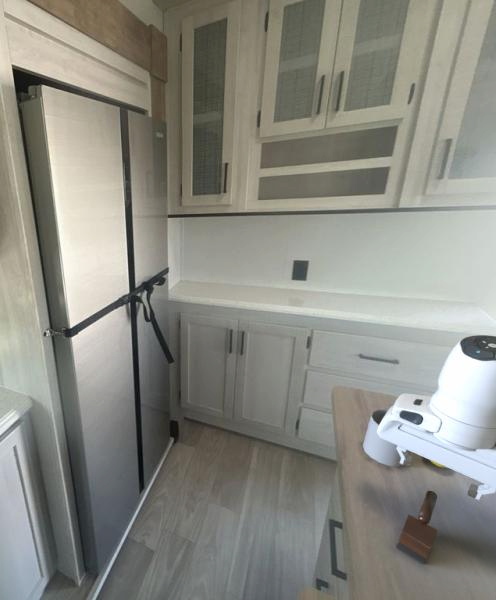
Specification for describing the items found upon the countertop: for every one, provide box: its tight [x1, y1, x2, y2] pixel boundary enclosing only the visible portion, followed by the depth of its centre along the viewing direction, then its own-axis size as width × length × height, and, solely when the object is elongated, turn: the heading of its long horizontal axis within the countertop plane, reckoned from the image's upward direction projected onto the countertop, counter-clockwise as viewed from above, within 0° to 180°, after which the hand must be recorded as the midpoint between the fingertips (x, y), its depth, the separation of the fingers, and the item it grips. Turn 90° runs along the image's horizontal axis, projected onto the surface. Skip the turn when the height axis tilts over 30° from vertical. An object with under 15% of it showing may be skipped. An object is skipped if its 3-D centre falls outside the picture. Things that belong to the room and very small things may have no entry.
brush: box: [395, 490, 438, 565], centre depth 64 cm, size 14×4×6 cm, turn 128°
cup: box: [362, 409, 411, 468], centre depth 80 cm, size 8×8×10 cm
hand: (437, 478), depth 63 cm, fingers open, 8 cm apart
